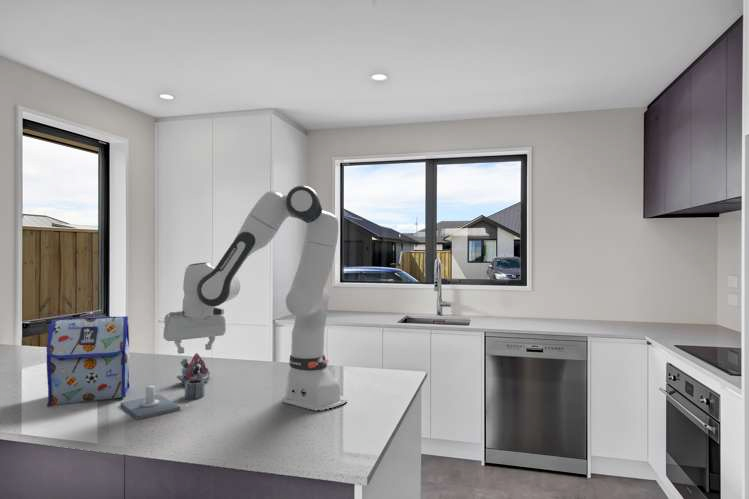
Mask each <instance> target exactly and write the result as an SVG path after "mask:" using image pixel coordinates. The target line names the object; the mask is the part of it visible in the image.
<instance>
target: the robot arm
mask: <svg viewBox="0 0 749 499" xmlns="http://www.w3.org/2000/svg"><path fill="white" fill-rule="evenodd" d="M319 196H320V195H319V194H318V193H317V191H315V189H314V188H312V187H310V186H308V185H303V184H302V185H297V186H295V187H292V188H291V189H290V191H289V192H288V193H287V194H286V195H285V194H282V193H280V192H278V191H273V190H271V191H267V192H265V193H264V194H263V195H262V196H261V197H260V198H259V199H258V201H256V203H255V204H254V206H253V207H252V208H251V211H250V212H249V213H248V215H247V216H246V217H245V220H244V221H243V223H242V226H241V227H240V229H239V231H238V232H237V234H236V236H235V238H234V240H233V241H232V243H231V244H230V246H229V247H228V249H227V250H226V251H225V253H224V255H223V256H222V258H221V259H220V261H219V262H218V263H217V265H216V267H215V266H213V265H212V264H211V263H209V262H198V263H192V264H191V263H190V264H189V265H188V266H187V267H186V268H185V272H184V275H183V276H184V277H183V283H182V284H183V285H182V286H183V287H182V288H183V294H184V295H183V299H182V308H181V311H171V312H169V313H167V314H165V316H164V321H163V322H164V327H163V336H162V337H163V339H164V340H165V341H168V342H173V343H174V344H175V346H176V348H177V353H178V354H184V353H185V348H184V347H182V345H181V344H182V341H183V340H184V341H185V340H193V339H194V340H195V339H201V338H202V339H203V338H208V339H209V341H208V342H207V343H206V344H205V347H204V348H205V350H206V351H209V350H212V346H213V343H214V342H215V340H216V337H221V336H224V335H225V334H226V328H227V327H226V326H227V325H226V318H225V309H224V308H221V307H218V306H221V305H222V304H223V303H226V302H228V301H231V300H232V299H235V298H236V297H237V296H238V295H239V293H240V290H241V283H240V281H239V279H238V277H236V275H237V273H238V271H239V270H240V269H241V267H242V265H243V264H244V262H246V260H247V259H248V258H249V257H250V256H251V255H252V254H253V253H255V252H257V251H259V250H260V249H263V248H265V247H266V246H267V245H268V244H269V243H271V241H272V240H273V238H274V237H275V235H276V234H277V233H278V232H279V229H280V228H281V226H282V224H283V223H284V222H285V221H286V219H288V218H289V217H291V218H294V219H298V220H301V221H302V222H305V225H306V232H305V237H304V240H303V246H302V251H301V254H300V260H299V263H298V267H297V269H296V272H295V274H294V277H293V280H292V283H291V286H290V289H289V291H288V293H287V294H286V297H285V306H286V309H287V311H288V312H289V314H292V315H294V316H295V319H294V324H293V327H292V331H291V343H290V344H291V351H290V352H291V354H290V355H289V359H288V360H289V367H290V368H289V372H288V374H287V378H286V385H285V393H284V395H285V396H284V397H283V398H282V403H285V404H288V405H289V404H290V405H293V406H296V407H300V408H303V409H307V410H310V409H311V411H314V410H315V412H317V410H320V411H326V410H325V409H327V410H330V409H329V408H332V407H335V406H337V405H340V404H342V403H344V402H346V401H347V402H348V398H346V397H345V396H343V395H341V386H340V383H339V381H338V379H337V378H335V376H334V375H333V374H332V372H331V371H330V370H329V368H328V364H329V362H328V361H329V359H326V356H325V353H324V351H325V349H324V348H325V328H326V324H327V323H326V322H327V316H328V310H329V309H328V306H329V300H330V293H329V292H330V291H329V290H328V288H327V287H326V284H327V281H328V278H329V277H330V276H329V275H330V273H331V271H332V268H333V263H334V260H335V259H334V258H335V253H336V250H337V245H338V244H337V243H338V238H339V220H338V217H337V216H336V215H334V214H333V213H331V212H330V211H329V212H328V211H325V210H323V208H322V204H321V199H320V197H319ZM341 401H343V402H341ZM332 409H333V408H332Z"/></svg>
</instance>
